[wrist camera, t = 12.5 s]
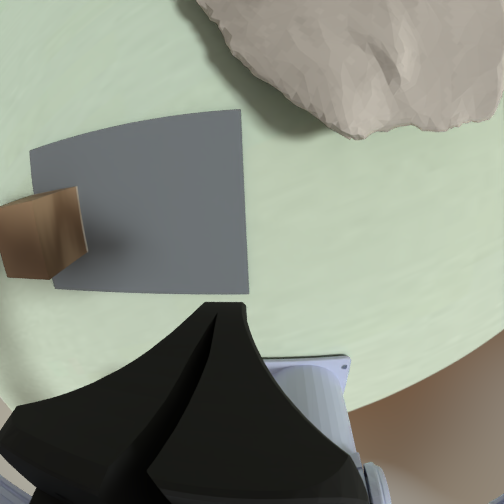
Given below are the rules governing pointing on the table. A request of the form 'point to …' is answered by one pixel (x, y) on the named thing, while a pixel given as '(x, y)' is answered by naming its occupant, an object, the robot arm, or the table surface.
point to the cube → (42, 234)
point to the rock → (373, 58)
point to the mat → (155, 204)
